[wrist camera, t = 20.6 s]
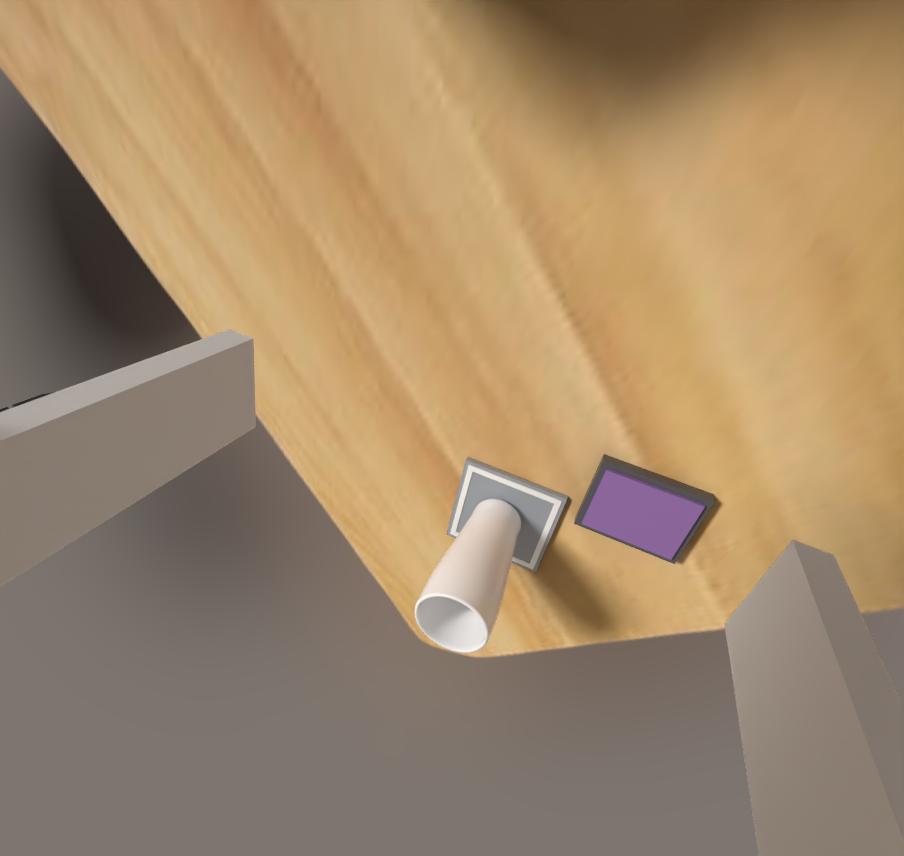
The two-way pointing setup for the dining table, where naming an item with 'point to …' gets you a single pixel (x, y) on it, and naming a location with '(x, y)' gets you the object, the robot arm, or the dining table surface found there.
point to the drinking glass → (470, 579)
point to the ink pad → (643, 508)
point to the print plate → (526, 497)
